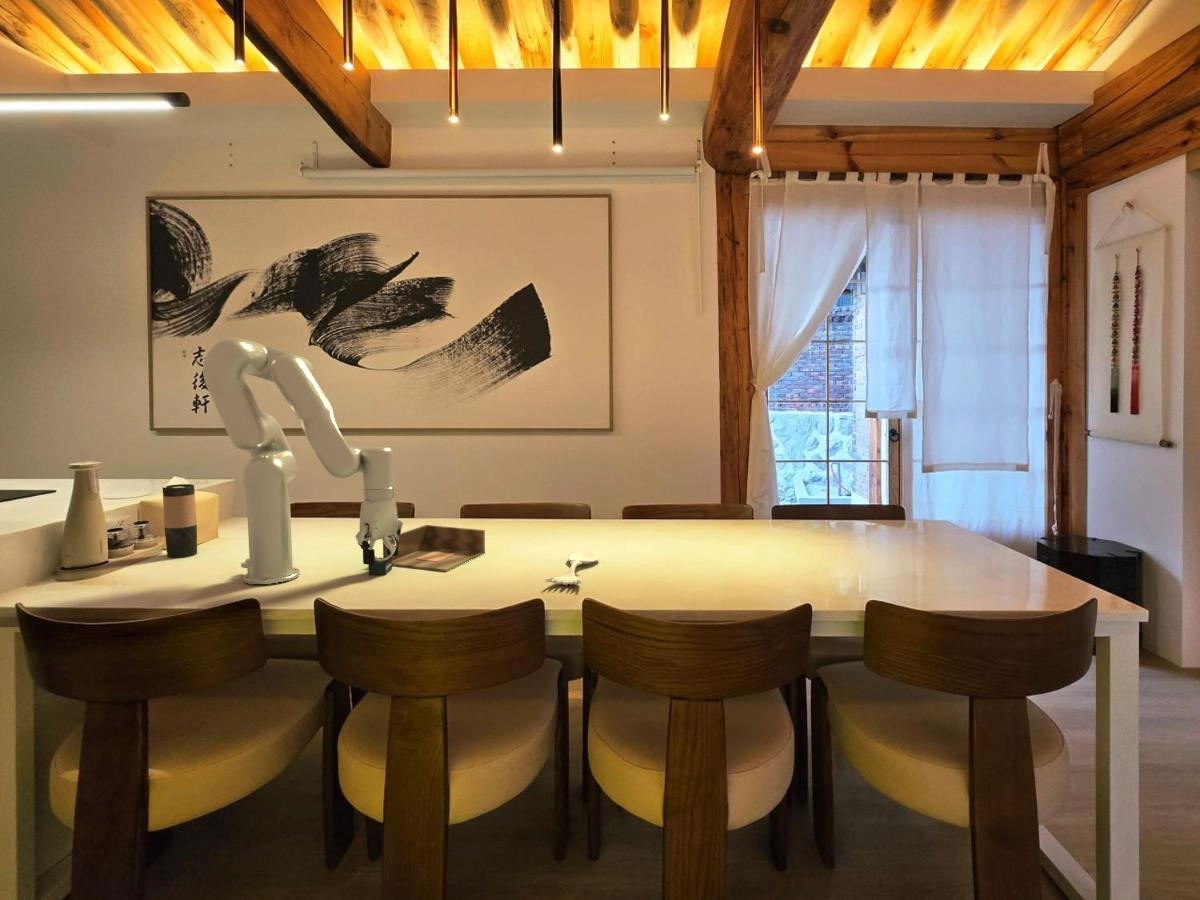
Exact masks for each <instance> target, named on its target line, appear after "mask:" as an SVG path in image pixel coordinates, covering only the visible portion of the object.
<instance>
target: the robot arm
mask: <svg viewBox="0 0 1200 900" xmlns="http://www.w3.org/2000/svg"><path fill="white" fill-rule="evenodd" d="M202 374H203V380H204V383H205V385H206V389H207V391H208V393H209V395H210V396H211V397H210V398H211V399H212V401H213V404H214V406H215V408H216V410H217V413H218V415H219V418H220V420H221V422H222V424H223V427H224V428H225V430H226V433H227V436H228V438H229V440H230V442H231V443H232V444H233V445H234V446H235V447H236V448H237V449H239V450H241V451H246V452H247V451H248V452H249V454H250V456H251V459H249V460H248V461H247V463H246V465H245V467H244V469H243V472H242V473H243V474H242V485H243V488H244V493H245V500H246V501H245V502H246V513H247V531H248V533H247V534H248V552H249V554H248V555H249V557H248V558H246V559H245V562H244V561H243V562H241V563H240V567H241V568H242V569H246V570H247V573H245V574H244V575H243V577H242V578H243V579H242V580H243V583H244V584H247V583H248V584H247V585H252V584H268V585H271V584H270V583H276V584H279V583H278V582H282V583H284V582H283V581H286V582H288V581H287V580H289V581H291V580H290V579H292V580H294V578H295V579H296V577H297V578H299V576H300V571H301V570H300V569H299V568H297V567H294V566H293V542H292V541H293V540H292V517H291V501H290V500H291V499H290V493H289V487H288V483H291V482H292V481H293V480H294V479H295V477H296V475H297V473H298V472H297V471H298V463H297V459H296V458H295V456H294V453H293V450H292V449H291V446H290V444H289V442H288V440H287V438H286V435H285V433H284V431H283V428H282V427H281V425H280V423H279V422H278V420H277V419H276V418H275V417H274V416H273V415H271V414H269V413H267V412H264V411H261V409H260V407H259V405H258V403H257V401H256V399H255V396H254V393H253V391H252V389H251V388H250V386H249V385H248V383H247V381H246V379H245V375H248V376H251V377H252V376H253V377H256V378H259V379H262V380H266V381H269V382H273V383H274V385H276V387H277V389H278V390H279V392H280V393H281V395H282V396H283V397H284V399H285V401H286V403H287V404H288V406H289V408H290V409H291V410H292V411H293V413H294V414H295V417H296V418H297V420H298V421H299V423H300V426H301V428H302V431H303V432H304V435H305V437H306V439H307V440H308V442H309V445H310V446H311V449H312V450H313V452H314V453H315V455H316V456H317V458H318V460H319V461H320V463H321V464H322V466H323V467H324V469H325V470H326V472H327V473H328V474H329V475H331V476H332V477H334V478H336V479H340V480H344V479H348V478H351V477H352V476H354V475H356V474H361V473H362V485H363V486H362V487H363V488H362V489H363V501H362V502H361V505H360V512H359V531H358V532H357V533H356V534H355V539H356V541H357V544H358V545H359V547H360V550H362V563H363V565H366V566H367V565H374V564H375V557H376V555H375V552H376V551H375V549H373V548H374V546H375V543H376V541H378V540H382V538H383V537H384V536H385V534H387V536H391V535H393V537H394V538H395V541H396V544H397V546H396V550H395V552H394V554H393V555H392V556H397V555H398V540H399V535H400V534H401V533H402V528H403V523H404V522H402V521H401V520H399V518H398V517H399V516H398V507H397V503H396V499H395V498H396V497H395V475H394V474H395V473H394V472H395V471H394V452H393V449H392V448H391V447H389V446H380V445H379V446H378V445H377V446H370V447H369V446H368V447H365V446H364V447H363V446H356V445H355V446H354V445H349V444H348V443H347V442H346V440H345V438H344V437H343V435H342V433H341V432H340V429H339V427H338V425H337V422H336V418H335V414H334V408H333V406H332V405H333V404H332V403H331V401H330V400H329V398H328V397H327V395H326V394H325V392H324V390H323V389H322V387H321V386H320V384H319V382H318V381H317V379H316V378H315V369H314V366H313V364H312V362H310V360H308V359H307V358H305V357H304V356H301V355H298V354H297V355H296V354H293V353H290V352H288V351H284V350H280V349H278V348H274V347H272V346H268V345H265V344H262V343H259V342H256V341H253V340H248V339H245V338H240V337H229V338H224V339H223V340H220V341H218V342H217V343H215V344H214V345H213V346H212V348H211V349H210V350H209V351H208V352H207V354H206V356H205V358H204V361H203V367H202ZM368 543H369V544H368ZM390 554H391V552H390V550H389V549H388V548H387V555H390Z"/></svg>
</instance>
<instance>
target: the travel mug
mask: <svg viewBox="0 0 1200 900" xmlns="http://www.w3.org/2000/svg"><path fill="white" fill-rule="evenodd" d="M195 493H196V492H195V484H191V483H190V484H189V483H187V484H186V483H183V484H182V483H181V484H179V483H178V484H170V485H167V486H165V487H162V499H163V500H162V502H163V504H162V505H163V526H164V537H165V546H166V555H167V556H166V557H167V558H168V559H184V558H189V557H193V556H196V555H197V554H198V527H197V526H198V523H197V522H198V521H197V507H196V494H195Z"/></svg>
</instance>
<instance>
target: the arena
mask: <svg viewBox="0 0 1200 900" xmlns="http://www.w3.org/2000/svg"><path fill="white" fill-rule="evenodd" d="M485 531H486V529H478V528H477V529H476V528H463V527H455V526H453V527H452V526H443V525H432V524H425V525H421V526H418V527H416V528H413V529H411V530H407V531H404V532H401V533H400V535H399V540H398V555H397V556H391V557H390V558H392V567H393V566H394V567H402V568H409V569H419V570H425V569H428V571H434V570H438V571H437V572H442V571H448V570H450V569H452V570H453V568H454V569H456V568H458V567H460V566H462V565H464V564H466V563H468V562H470V561H469V560H471V559H473V558H475V559H477V558H479V557H480V555H481V556H483V555H485V554H486V537H485V536H486V535H485V534H486V533H485ZM484 553H485V554H484ZM482 554H483V555H482ZM382 556H383V557H382V558H387V557H389V556H390V555H387V547H386V546H385V544H384V543H383V542H382ZM478 556H479V557H478ZM476 557H477V558H476ZM473 560H474V559H473ZM467 561H468V562H467ZM471 561H472V560H471ZM465 562H466V563H465ZM463 563H464V564H463ZM461 564H462V565H461ZM459 565H460V566H459ZM457 566H458V567H457ZM455 567H456V568H455ZM450 571H451V570H450ZM448 572H449V571H448Z"/></svg>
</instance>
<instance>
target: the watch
mask: <svg viewBox="0 0 1200 900" xmlns="http://www.w3.org/2000/svg"><path fill="white" fill-rule="evenodd" d="M381 540H382V544H383V543H384V544H385V546H386V547H387V548H388V549H389V550H390V552H391V554H390V556H389V557H387V558H383V557H377V556H375V564H374V565H368V566H367V570H368V576H387V574H389V573H390V571H392V570H393V566H392V558H390V557H391V556H392V555H393V554H394V552H395V550H396V546H397V544H396V541H395V538H394V537H393V535H391V536H387V534H385V536H384V537H383V538H382V539H381ZM369 543H370V542H368V544H369Z"/></svg>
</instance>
